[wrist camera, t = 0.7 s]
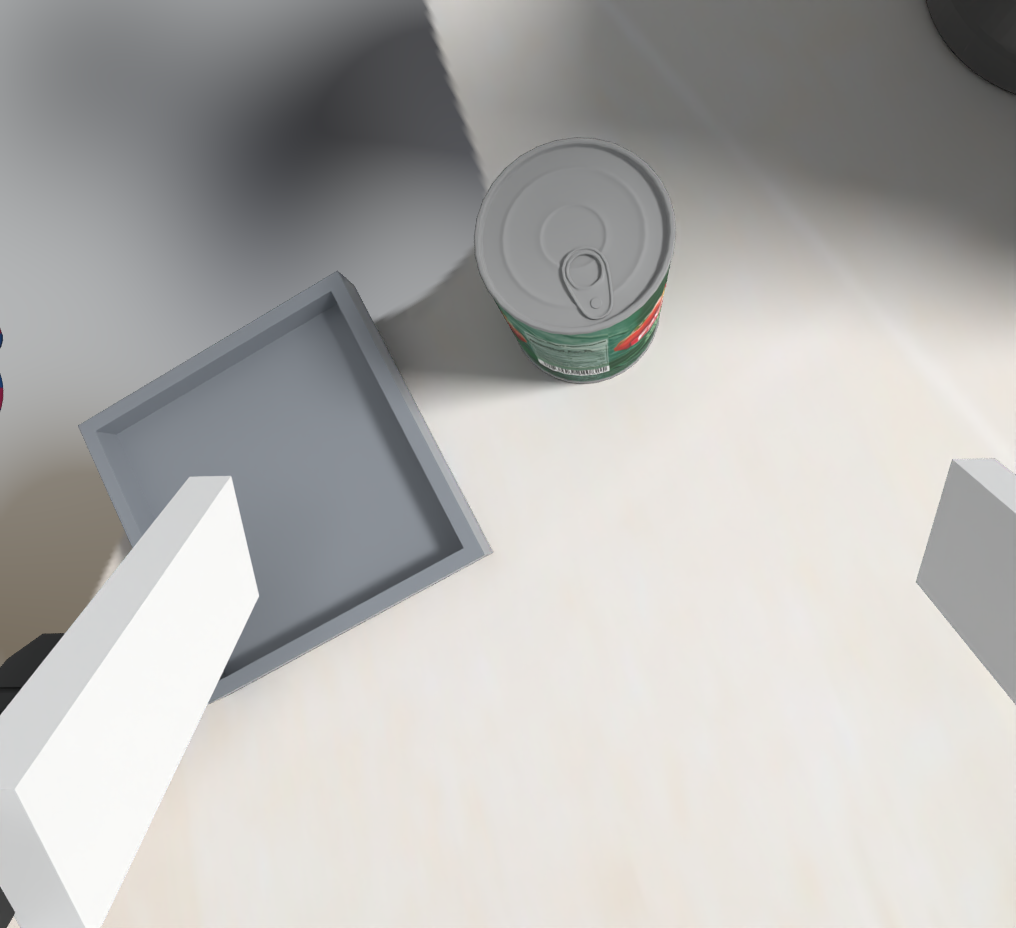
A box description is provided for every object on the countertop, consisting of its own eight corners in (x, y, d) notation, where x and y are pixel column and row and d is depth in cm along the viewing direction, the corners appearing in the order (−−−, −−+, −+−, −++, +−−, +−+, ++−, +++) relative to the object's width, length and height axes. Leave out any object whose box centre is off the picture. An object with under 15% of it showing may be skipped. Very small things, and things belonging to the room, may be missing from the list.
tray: (354, 285, 41) (337, 270, 39) (493, 552, 39) (484, 554, 36) (108, 430, 43) (77, 425, 40) (228, 695, 41) (203, 706, 38)
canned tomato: (494, 270, 40) (448, 178, 29) (631, 219, 39) (636, 104, 28) (539, 405, 39) (508, 361, 28) (680, 355, 38) (705, 291, 27)
